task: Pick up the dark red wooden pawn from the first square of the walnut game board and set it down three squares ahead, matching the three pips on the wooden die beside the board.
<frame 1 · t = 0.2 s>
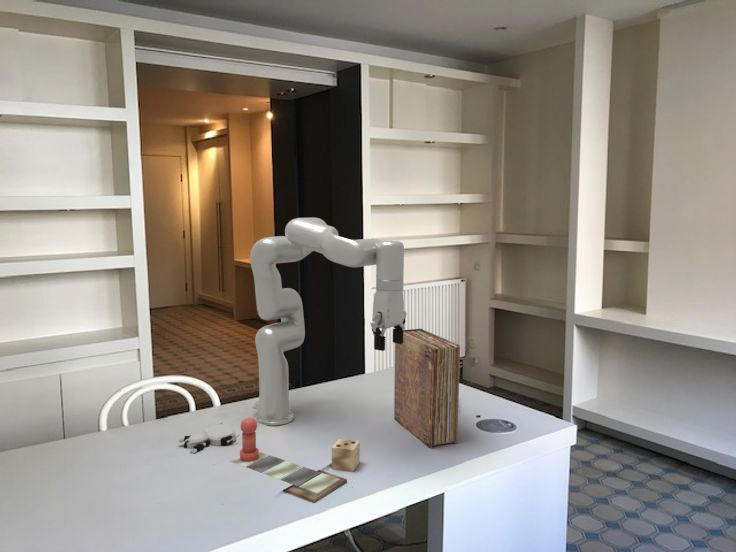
hand: (388, 346, 165), 31 cm above the table, tool pointing down, fingers open, 9 cm apart
die: (345, 465, 160), on the table
pawn: (249, 457, 161), point 1 cm above the table, touching board
board: (282, 474, 155), on the table
book: (424, 431, 185), on the table
robot toy: (209, 447, 172), on the table
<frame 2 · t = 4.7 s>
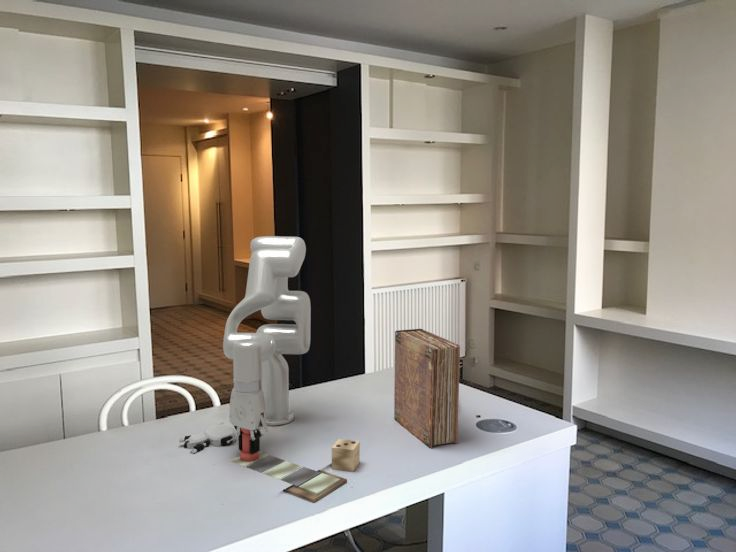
hand: (249, 449, 161), 4 cm above the table, tool pointing down, fingers closed on pawn, 3 cm apart
pawn: (249, 457, 161), point 1 cm above the table, touching board, gripper
everything else where it was.
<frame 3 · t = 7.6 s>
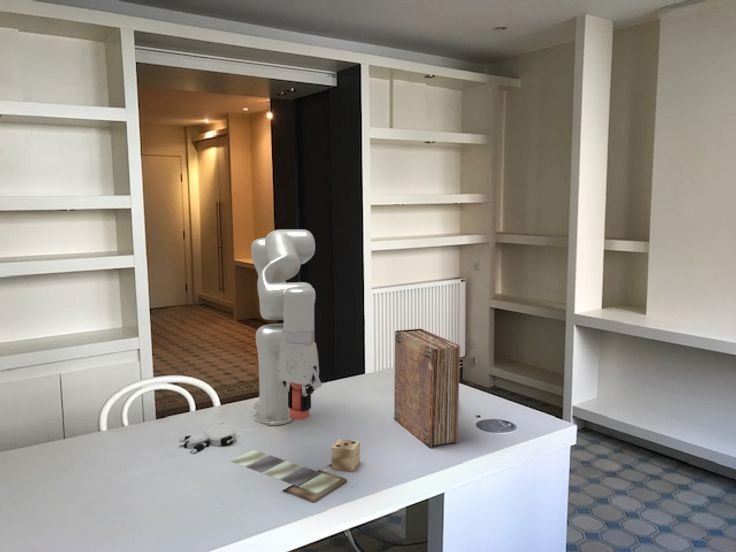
hand: (299, 407, 149), 19 cm above the table, tool pointing down, fingers closed on pawn, 3 cm apart
pawn: (299, 416, 149), point 17 cm above the table, touching gripper
everything else where it was.
when the fingers open (5 cm above the table, at t = 10.6 s): pawn drops 2 cm, resting on board.
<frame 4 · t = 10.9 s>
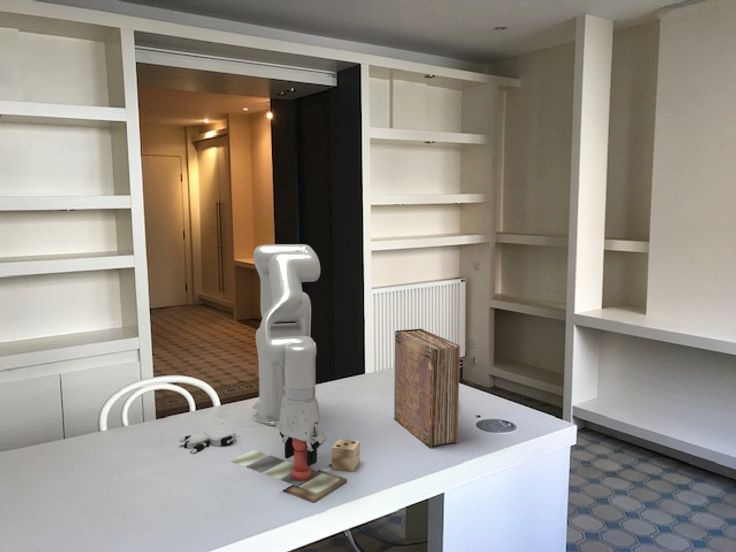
hand: (300, 459, 150), 6 cm above the table, tool pointing down, fingers open, 6 cm apart
pawn: (301, 476, 151), point 1 cm above the table, touching board
everything else where it was.
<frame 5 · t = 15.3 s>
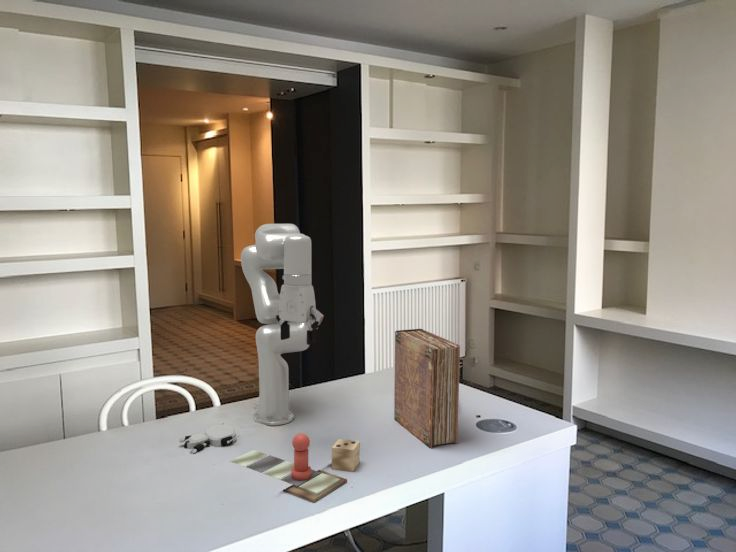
hand: (298, 341, 165), 32 cm above the table, tool pointing down, fingers open, 9 cm apart
nothing on the table moved.
at the end: pawn 0.2 cm from the target spot on the board, point 1.4 cm above the board's base; pawn tilted 0°; the gripper is holding nothing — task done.
